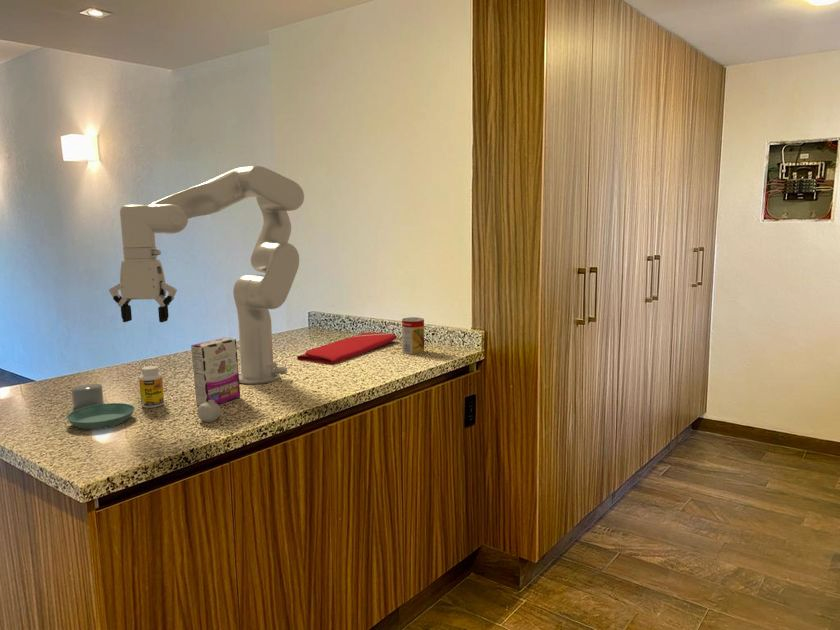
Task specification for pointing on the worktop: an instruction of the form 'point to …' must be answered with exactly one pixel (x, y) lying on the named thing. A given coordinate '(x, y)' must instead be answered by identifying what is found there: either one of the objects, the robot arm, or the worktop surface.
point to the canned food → (413, 335)
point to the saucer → (100, 415)
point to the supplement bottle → (151, 387)
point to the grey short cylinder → (87, 395)
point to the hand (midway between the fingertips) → (145, 321)
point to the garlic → (209, 411)
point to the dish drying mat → (347, 348)
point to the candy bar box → (216, 371)
